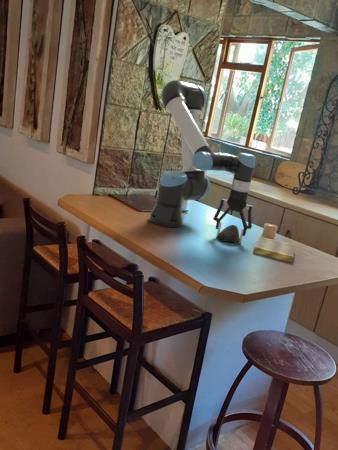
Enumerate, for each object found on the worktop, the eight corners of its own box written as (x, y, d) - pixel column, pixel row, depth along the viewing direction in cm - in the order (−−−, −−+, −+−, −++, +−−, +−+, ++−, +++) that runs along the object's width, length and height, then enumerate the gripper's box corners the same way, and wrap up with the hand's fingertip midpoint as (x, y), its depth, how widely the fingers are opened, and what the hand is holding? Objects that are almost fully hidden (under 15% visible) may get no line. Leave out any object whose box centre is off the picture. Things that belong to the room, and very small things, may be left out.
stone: (226, 253, 188) (246, 240, 188) (215, 236, 188) (235, 223, 187) (224, 249, 198) (243, 236, 197) (213, 233, 197) (232, 221, 197)
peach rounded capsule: (260, 239, 204) (264, 225, 202) (261, 236, 210) (265, 222, 208) (273, 242, 203) (277, 228, 201) (274, 239, 208) (278, 225, 206)
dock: (253, 252, 183) (254, 246, 182) (257, 241, 200) (258, 236, 199) (291, 262, 179) (293, 256, 178) (293, 250, 196) (294, 245, 195)
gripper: (213, 185, 187) (202, 235, 193) (264, 197, 182) (252, 248, 188) (216, 183, 194) (206, 231, 200) (266, 194, 189) (254, 243, 195)
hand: (228, 239), depth 194 cm, fingers open, 9 cm apart
